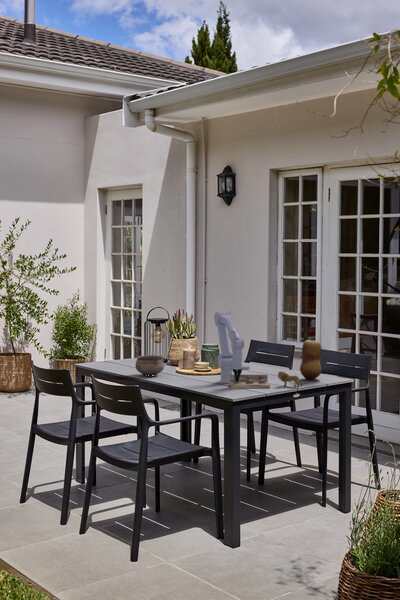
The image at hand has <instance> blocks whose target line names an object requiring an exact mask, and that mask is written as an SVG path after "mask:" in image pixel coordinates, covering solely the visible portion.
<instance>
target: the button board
mask: <svg viewBox="0 0 400 600" xmlns="http://www.w3.org/2000/svg"><path fill="white" fill-rule="evenodd" d="M268 377H269V376H268V374H241V375H240V377H239V382H240V384H234V382H236V378H235V375H234V374H232V375H230V383H229V387H230V388H231V389H271V384H270V382H269V380H268ZM261 379H263V380H265V383H259V380H261ZM247 380H253V383H252V384H247Z"/></svg>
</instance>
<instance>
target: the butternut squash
mask: <svg viewBox="0 0 400 600" xmlns="http://www.w3.org/2000/svg"><path fill="white" fill-rule="evenodd" d="M301 348H302V349H301V363H300V366H299V371H300V375H301V376H303V378H304V379H306V381H309V380H310V381H311V380H315V379H317V378H319V376H320V375H321V373H322V366H321V361H320V360H321V353H322V344H321V342H320V341H319V340H313V339H307V340H304V341H303V344H302V347H301Z"/></svg>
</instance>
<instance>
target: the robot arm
mask: <svg viewBox="0 0 400 600" xmlns="http://www.w3.org/2000/svg"><path fill="white" fill-rule="evenodd" d="M213 320H214V325H215V326H216V327H217V333H218V339H219V347H220V354H219V355H218V356H217V365H218V367H219V369H220V380H219V383H220V384H230V375H235V378H236V382H239V377H240V375H242V373H243V371H250V366H249V365H248V366H243V350H244V347H245V342H244V340H243V339H242V338H241V337H240V336H239V333H238V330H237V329H235V328H234V325H233V322H232V321H233V314H232V312H231V311H230V310H228V311H216V312H215V313H214V315H213ZM227 331H228V332H227ZM228 338H229V340H230V347H231V352H230V349H229V348H230V347H229V340H228Z"/></svg>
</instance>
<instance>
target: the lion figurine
mask: <svg viewBox="0 0 400 600" xmlns="http://www.w3.org/2000/svg"><path fill="white" fill-rule="evenodd" d="M277 378H278V379H279V380H280V381H281V382H284V384H283V387H287V382H289V383H292V382H294V383H295V384H294V385H293V386H294V387H297V388H299V387H300V386H301V387H302V386H303V384H301V382H300V378H299V376H297V375H295V374H294V375H289V374H288V373H286V372H285V371H282V370H281V371H279V372H278V373H277Z"/></svg>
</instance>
